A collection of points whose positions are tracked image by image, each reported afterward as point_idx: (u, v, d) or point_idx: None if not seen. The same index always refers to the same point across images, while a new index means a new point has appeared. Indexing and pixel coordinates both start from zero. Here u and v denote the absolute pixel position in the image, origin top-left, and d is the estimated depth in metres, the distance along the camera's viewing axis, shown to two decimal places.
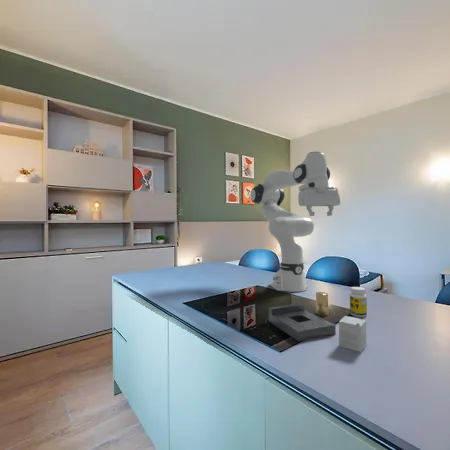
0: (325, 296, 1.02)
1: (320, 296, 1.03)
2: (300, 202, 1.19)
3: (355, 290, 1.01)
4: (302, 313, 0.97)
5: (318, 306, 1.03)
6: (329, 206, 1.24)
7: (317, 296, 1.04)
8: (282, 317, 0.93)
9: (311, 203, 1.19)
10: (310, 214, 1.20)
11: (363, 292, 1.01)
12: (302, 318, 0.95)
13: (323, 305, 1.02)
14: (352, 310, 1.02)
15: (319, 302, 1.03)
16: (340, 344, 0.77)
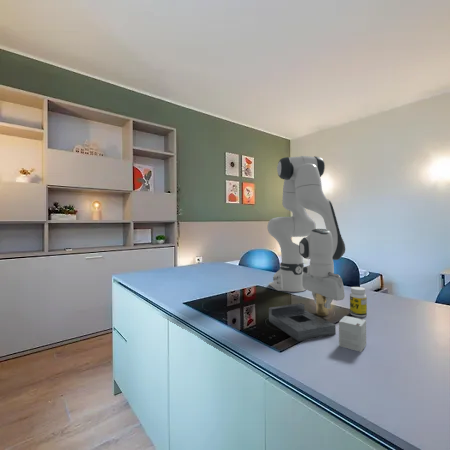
0: None
1: (320, 296, 1.03)
2: None
3: (355, 290, 1.01)
4: (302, 313, 0.97)
5: (318, 306, 1.03)
6: None
7: (317, 296, 1.04)
8: (282, 317, 0.93)
9: (308, 289, 1.09)
10: None
11: (363, 292, 1.01)
12: (302, 318, 0.95)
13: (323, 305, 1.02)
14: (352, 310, 1.02)
15: (319, 302, 1.03)
16: (340, 344, 0.77)
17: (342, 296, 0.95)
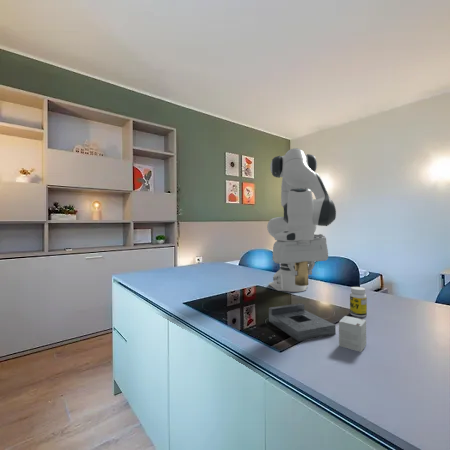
0: None
1: (307, 263, 0.90)
2: (275, 258, 0.89)
3: (355, 290, 1.01)
4: (302, 313, 0.97)
5: (306, 275, 0.90)
6: (309, 262, 0.93)
7: (305, 264, 0.90)
8: (282, 317, 0.93)
9: (289, 261, 0.88)
10: (292, 273, 0.91)
11: (363, 292, 1.01)
12: (302, 318, 0.95)
13: None
14: (352, 310, 1.02)
15: (307, 270, 0.90)
16: (340, 344, 0.77)
17: None
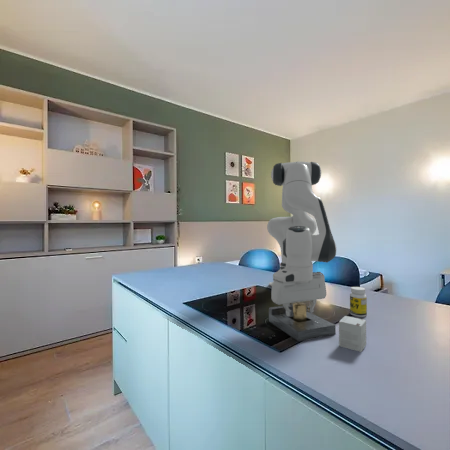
0: None
1: (305, 307, 0.90)
2: (273, 299, 0.88)
3: (355, 290, 1.01)
4: None
5: (304, 319, 0.90)
6: (310, 299, 0.93)
7: (303, 308, 0.90)
8: (282, 317, 0.93)
9: (288, 301, 0.88)
10: (287, 313, 0.90)
11: (363, 292, 1.01)
12: None
13: None
14: (352, 310, 1.02)
15: (305, 314, 0.90)
16: (340, 344, 0.77)
17: None
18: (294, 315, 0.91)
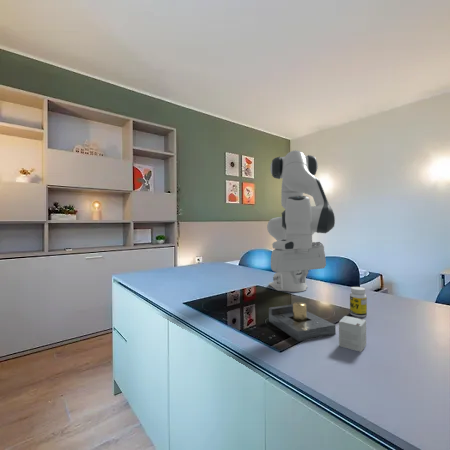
0: None
1: (305, 307, 0.90)
2: (273, 267, 0.88)
3: (355, 290, 1.01)
4: None
5: (304, 319, 0.90)
6: (302, 270, 0.92)
7: (303, 308, 0.90)
8: (282, 317, 0.93)
9: (287, 269, 0.88)
10: (294, 281, 0.91)
11: (363, 292, 1.01)
12: None
13: None
14: (352, 310, 1.02)
15: (305, 314, 0.90)
16: (340, 344, 0.77)
17: None
18: (294, 315, 0.91)
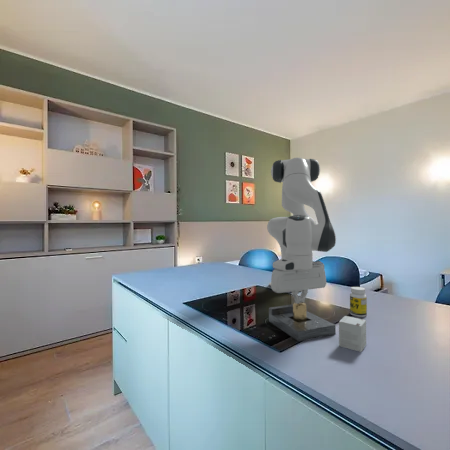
0: None
1: (305, 306, 0.90)
2: (273, 287, 0.88)
3: (355, 290, 1.01)
4: None
5: (304, 319, 0.90)
6: (302, 289, 0.92)
7: (303, 308, 0.90)
8: (282, 317, 0.93)
9: (288, 290, 0.88)
10: (296, 301, 0.91)
11: (363, 292, 1.01)
12: None
13: None
14: (352, 310, 1.02)
15: (305, 314, 0.90)
16: (340, 344, 0.77)
17: None
18: (294, 315, 0.91)
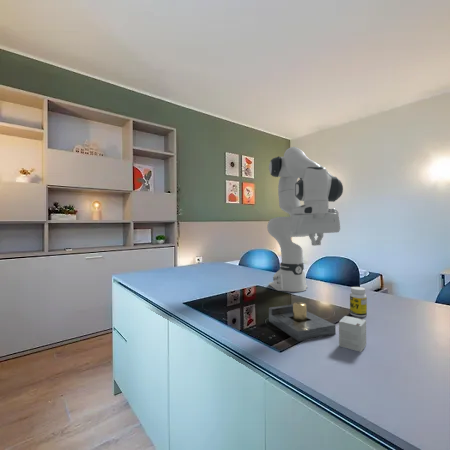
0: None
1: None
2: (293, 230, 0.99)
3: (355, 290, 1.01)
4: None
5: (304, 319, 0.90)
6: (318, 233, 1.02)
7: (303, 308, 0.90)
8: (282, 317, 0.93)
9: (306, 232, 0.98)
10: (313, 243, 1.02)
11: (363, 292, 1.01)
12: None
13: None
14: (352, 310, 1.02)
15: (305, 314, 0.90)
16: (340, 344, 0.77)
17: None
18: (294, 315, 0.91)
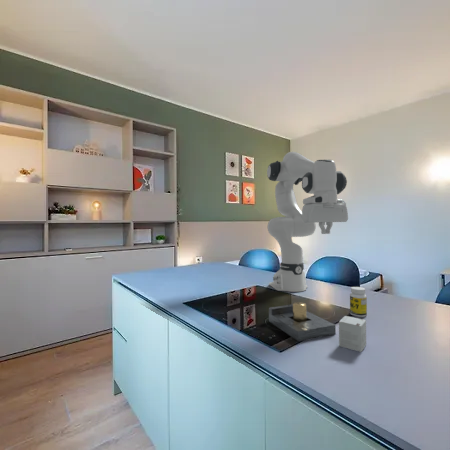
0: None
1: (305, 307, 0.90)
2: (304, 218, 1.04)
3: (355, 290, 1.01)
4: None
5: (304, 319, 0.90)
6: (327, 223, 1.08)
7: (303, 308, 0.90)
8: (282, 317, 0.93)
9: (316, 220, 1.04)
10: (322, 232, 1.07)
11: (363, 292, 1.01)
12: None
13: None
14: (352, 310, 1.02)
15: (305, 314, 0.90)
16: (340, 344, 0.77)
17: None
18: (294, 315, 0.91)
